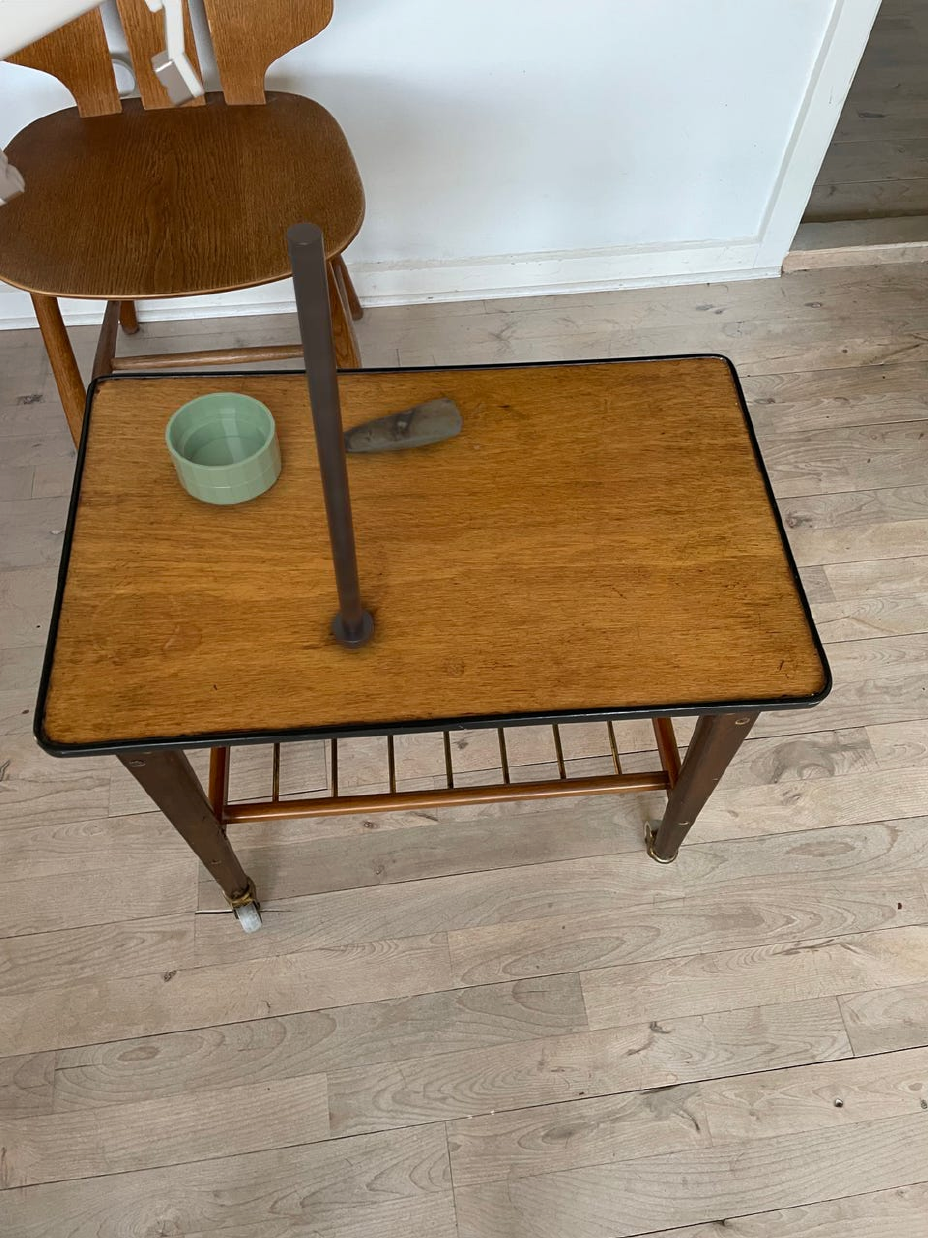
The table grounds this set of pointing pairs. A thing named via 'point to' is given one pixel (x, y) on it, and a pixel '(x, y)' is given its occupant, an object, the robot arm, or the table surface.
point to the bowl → (224, 447)
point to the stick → (328, 425)
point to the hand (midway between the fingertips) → (100, 146)
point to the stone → (406, 428)
